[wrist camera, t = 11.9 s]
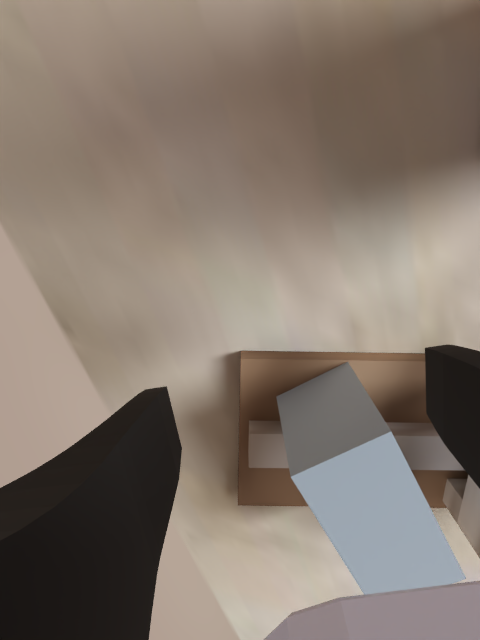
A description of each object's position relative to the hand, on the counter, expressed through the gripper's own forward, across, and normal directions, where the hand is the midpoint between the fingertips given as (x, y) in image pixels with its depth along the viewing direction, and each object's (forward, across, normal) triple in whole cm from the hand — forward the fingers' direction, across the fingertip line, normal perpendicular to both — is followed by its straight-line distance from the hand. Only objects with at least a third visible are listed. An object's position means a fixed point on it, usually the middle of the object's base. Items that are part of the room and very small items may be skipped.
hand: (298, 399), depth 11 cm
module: (+8, -3, +8) cm, 12 cm away
